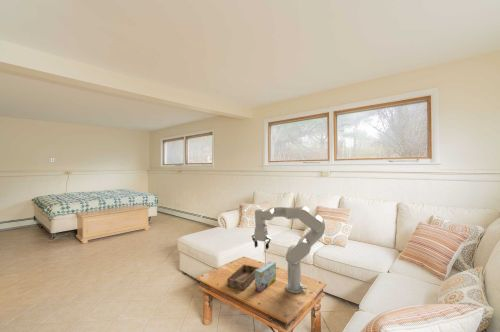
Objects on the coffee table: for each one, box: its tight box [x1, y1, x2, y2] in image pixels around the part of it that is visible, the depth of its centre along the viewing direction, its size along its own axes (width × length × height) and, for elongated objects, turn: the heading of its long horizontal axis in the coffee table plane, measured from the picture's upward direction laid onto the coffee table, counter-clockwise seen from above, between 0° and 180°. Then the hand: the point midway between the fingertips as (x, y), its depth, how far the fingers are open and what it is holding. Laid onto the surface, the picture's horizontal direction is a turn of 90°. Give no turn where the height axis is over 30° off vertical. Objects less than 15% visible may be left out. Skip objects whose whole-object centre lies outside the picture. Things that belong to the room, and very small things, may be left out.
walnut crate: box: [227, 264, 260, 292], centre depth 186 cm, size 14×27×6 cm, turn 154°
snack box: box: [254, 260, 277, 293], centre depth 178 cm, size 21×6×15 cm, turn 143°
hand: (261, 247), depth 180 cm, fingers open, 9 cm apart
